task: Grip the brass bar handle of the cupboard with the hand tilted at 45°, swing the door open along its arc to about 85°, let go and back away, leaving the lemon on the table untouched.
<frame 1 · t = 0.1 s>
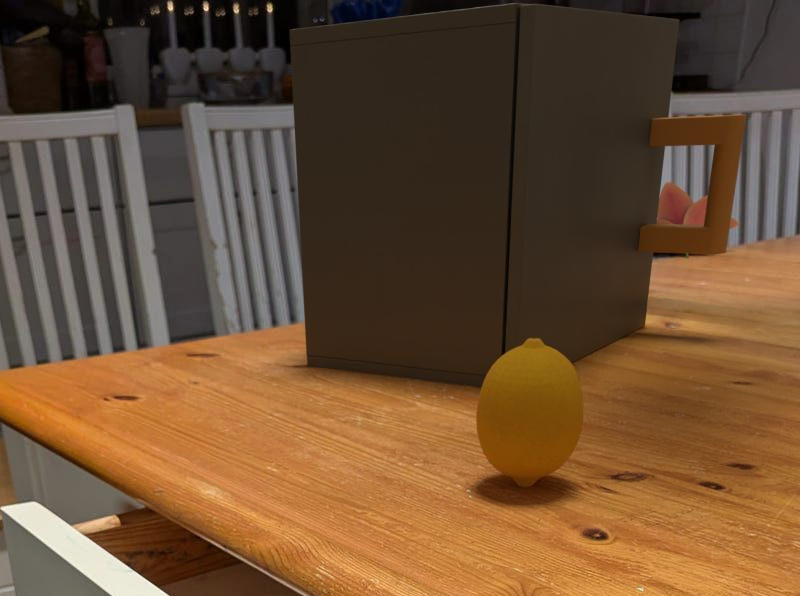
lemon: (525, 490, 53), on the table
cupboard door: (639, 197, 71), point 12 cm above the table, hinge at 0.0°
lily: (676, 273, 115), on the table
cupboard: (477, 345, 84), on the table
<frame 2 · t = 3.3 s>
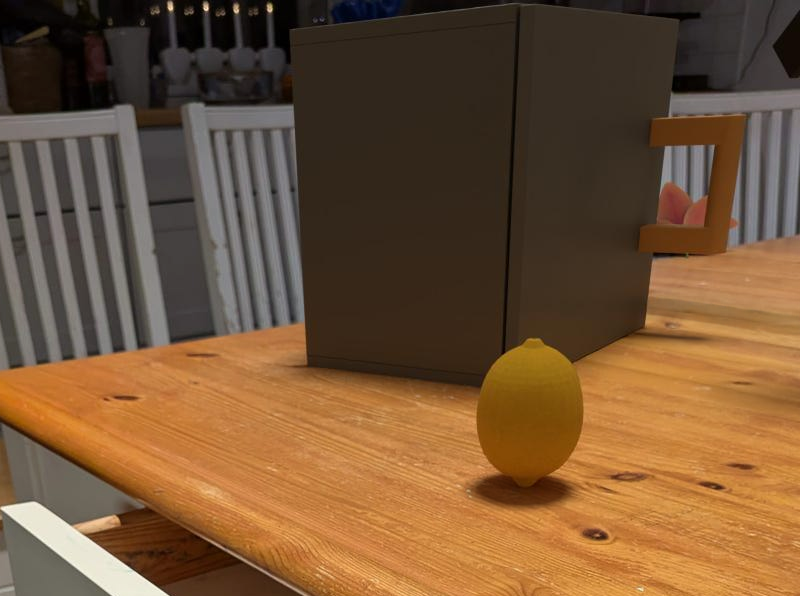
nothing on the table moved.
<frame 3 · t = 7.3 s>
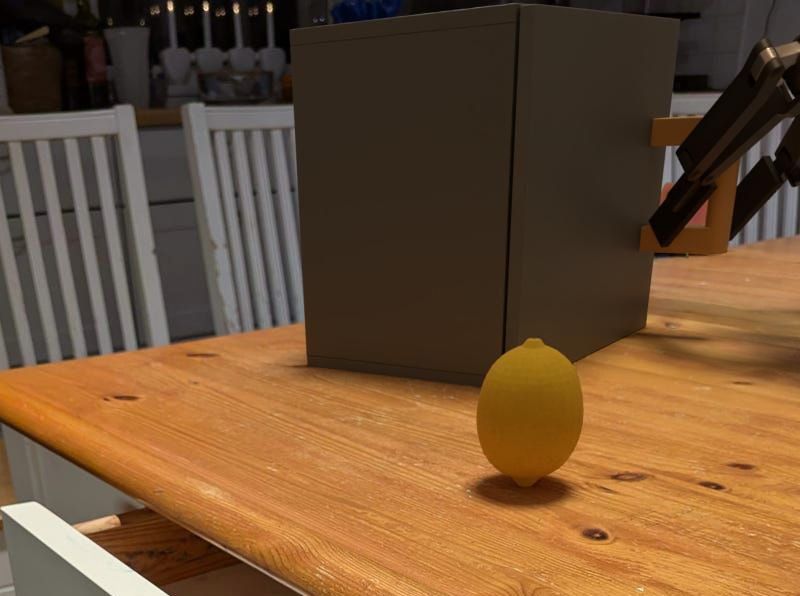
hand: (690, 230, 81), 9 cm above the table, tool tilted 45°, fingers open, 6 cm apart
cupboard door: (640, 197, 71), point 12 cm above the table, hinge at 0.2°, touching gripper
everything else where it was.
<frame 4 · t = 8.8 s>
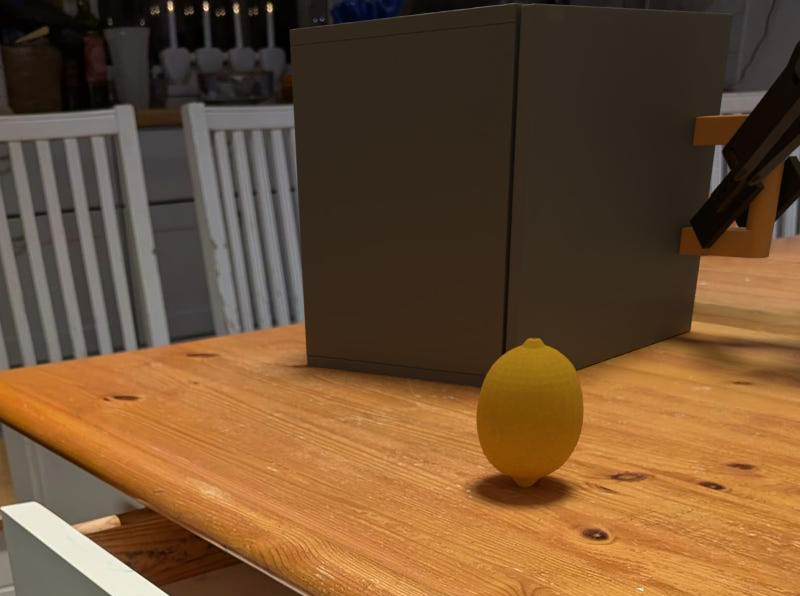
hand: (722, 232, 78), 9 cm above the table, tool tilted 45°, fingers open, 4 cm apart
cupboard door: (664, 198, 70), point 12 cm above the table, hinge at 9.6°, touching gripper
everything else where it was.
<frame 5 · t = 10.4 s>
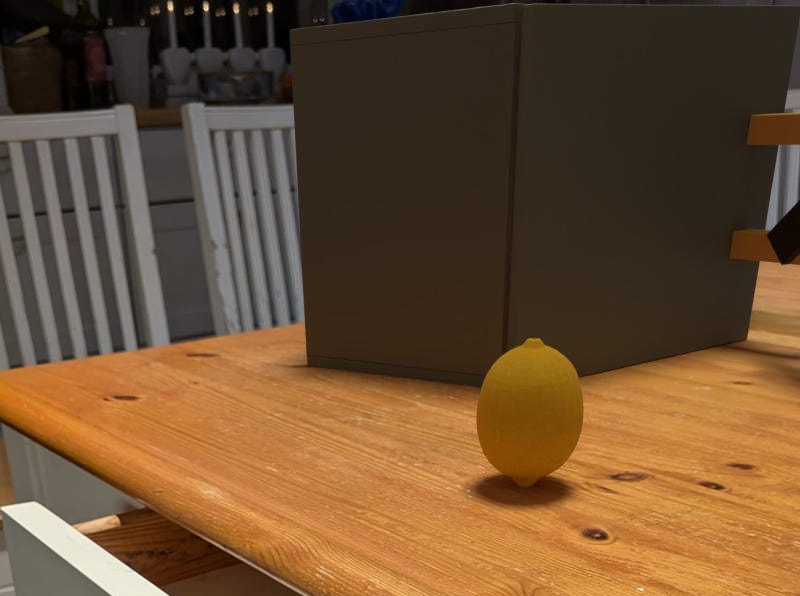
hand: (798, 246, 72), 8 cm above the table, tool tilted 45°, fingers open, 3 cm apart
cupboard door: (691, 200, 67), point 12 cm above the table, hinge at 21.7°, touching gripper
everything else where it was.
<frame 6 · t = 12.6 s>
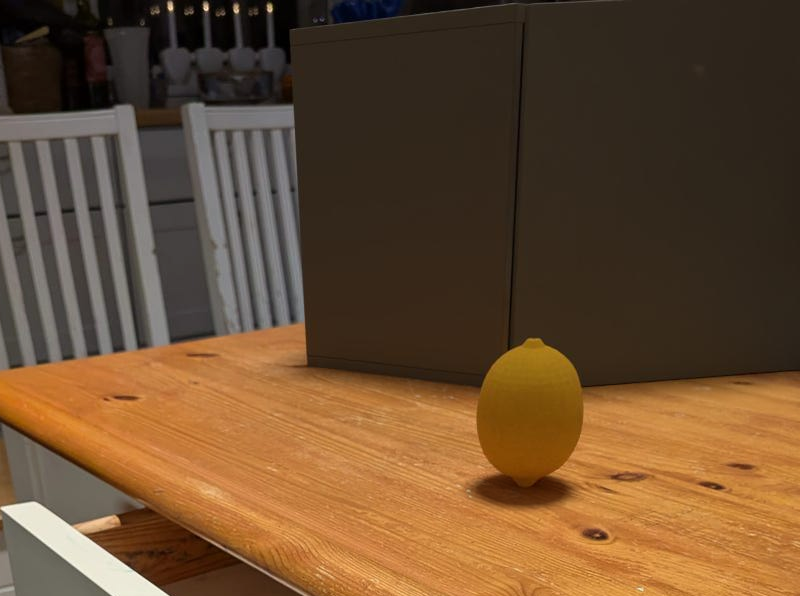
cupboard door: (727, 206, 62), point 12 cm above the table, hinge at 46.6°, touching gripper
everything else where it was.
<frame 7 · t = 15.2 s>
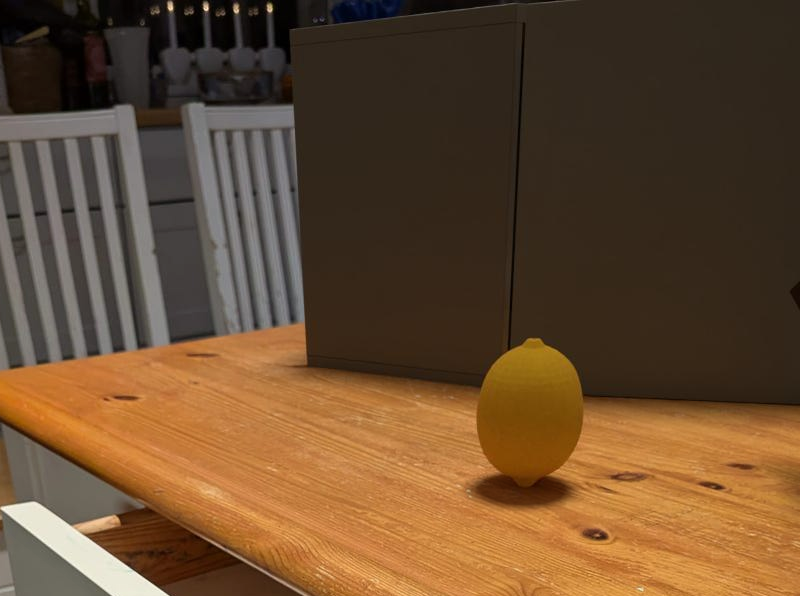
cupboard door: (725, 216, 57), point 12 cm above the table, hinge at 73.2°, touching gripper
everything else where it was.
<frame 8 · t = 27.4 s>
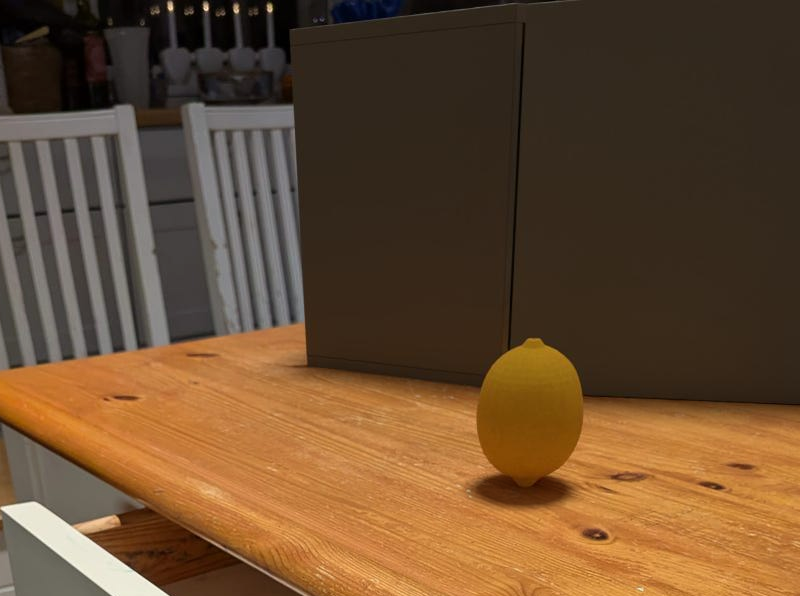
cupboard door: (725, 216, 57), point 12 cm above the table, hinge at 73.1°
everything else where it was.
at the end: cupboard door at +73° (first picture: +0°); lemon moved 0.2 cm from its start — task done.
